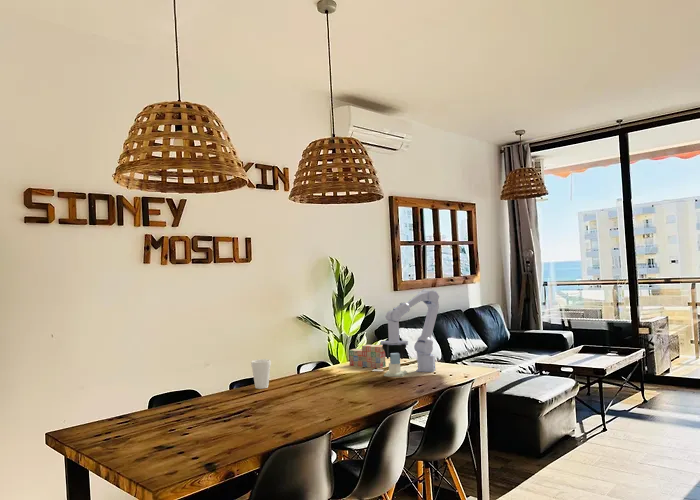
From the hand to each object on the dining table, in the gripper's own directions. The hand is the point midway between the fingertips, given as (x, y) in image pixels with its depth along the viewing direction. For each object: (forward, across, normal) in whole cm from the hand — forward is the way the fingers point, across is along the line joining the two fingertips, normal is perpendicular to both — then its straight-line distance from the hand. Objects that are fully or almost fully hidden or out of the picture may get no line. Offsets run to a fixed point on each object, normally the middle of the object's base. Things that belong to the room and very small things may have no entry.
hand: (394, 358), depth 282 cm
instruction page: (+8, -12, +10) cm, 18 cm away
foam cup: (+9, -58, -40) cm, 71 cm away
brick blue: (+2, 0, 0) cm, 2 cm away
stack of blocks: (+9, -23, +23) cm, 33 cm away
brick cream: (+7, 0, 0) cm, 7 cm away
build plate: (+8, 0, 0) cm, 8 cm away
